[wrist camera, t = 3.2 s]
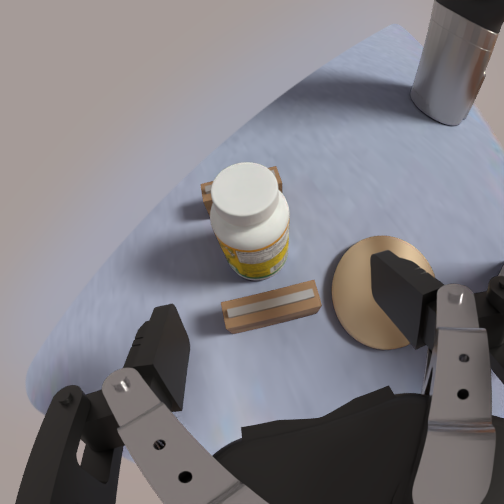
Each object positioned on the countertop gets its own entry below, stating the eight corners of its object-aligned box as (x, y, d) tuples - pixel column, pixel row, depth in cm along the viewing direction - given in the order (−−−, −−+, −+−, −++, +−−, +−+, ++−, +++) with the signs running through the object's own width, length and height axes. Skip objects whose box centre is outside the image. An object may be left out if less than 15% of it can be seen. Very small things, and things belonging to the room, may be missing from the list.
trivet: (410, 229, 24) (413, 225, 24) (446, 326, 20) (451, 325, 20) (316, 254, 24) (318, 250, 24) (350, 366, 20) (352, 365, 20)
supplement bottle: (291, 278, 24) (297, 222, 15) (228, 284, 24) (198, 233, 15) (283, 222, 26) (283, 149, 17) (225, 229, 26) (200, 160, 18)
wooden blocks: (276, 185, 28) (275, 163, 25) (316, 313, 22) (322, 304, 19) (207, 202, 28) (199, 181, 25) (232, 334, 22) (225, 328, 19)
